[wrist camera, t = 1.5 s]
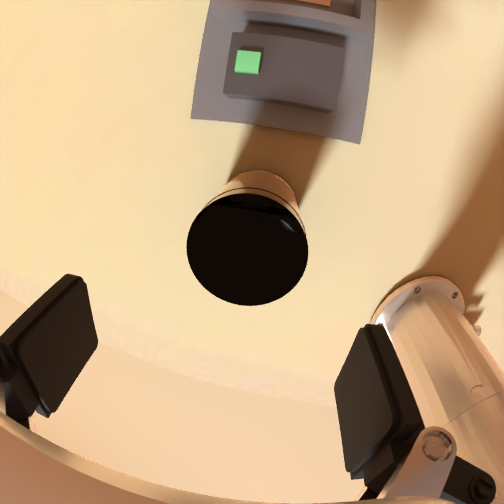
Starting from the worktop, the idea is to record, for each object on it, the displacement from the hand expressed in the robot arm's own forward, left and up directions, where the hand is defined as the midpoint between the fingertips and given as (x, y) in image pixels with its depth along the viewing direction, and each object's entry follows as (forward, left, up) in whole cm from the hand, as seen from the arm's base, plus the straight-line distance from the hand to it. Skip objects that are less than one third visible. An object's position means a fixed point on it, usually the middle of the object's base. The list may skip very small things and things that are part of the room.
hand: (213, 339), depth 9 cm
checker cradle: (-1, -18, -18) cm, 25 cm away
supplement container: (0, 0, -18) cm, 18 cm away
